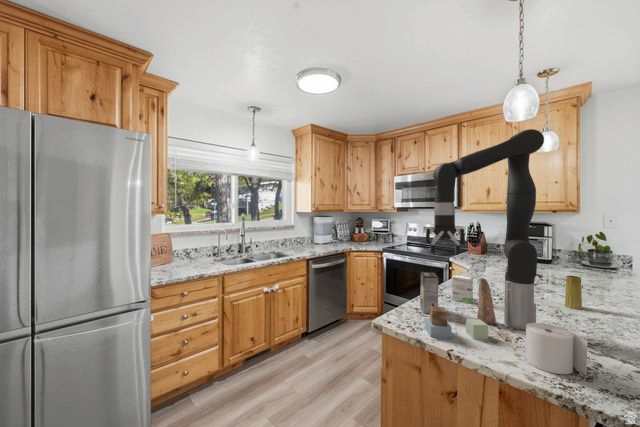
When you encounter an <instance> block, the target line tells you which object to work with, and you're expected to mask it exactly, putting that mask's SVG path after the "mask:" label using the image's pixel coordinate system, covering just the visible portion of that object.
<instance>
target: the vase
mask: <svg viewBox="0 0 640 427" xmlns="http://www.w3.org/2000/svg"><path fill="white" fill-rule="evenodd" d="M565 277H566V278H565V296H564V307H566V308H568V307H569V309H572V308H573V309H572V310H582V309H583V298H582V297H583V296H582V277H580V276H578V275H577V276H576V275H566V276H565Z"/></svg>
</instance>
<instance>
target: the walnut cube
mask: <svg viewBox="0 0 640 427" xmlns="http://www.w3.org/2000/svg"><path fill="white" fill-rule="evenodd" d="M429 319H430V321H431V323H432V325H440V326H447V323H448V311H447V309H446V308H445V307H444V306H438V307H436V306H430V313H429Z"/></svg>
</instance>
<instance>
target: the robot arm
mask: <svg viewBox="0 0 640 427" xmlns="http://www.w3.org/2000/svg"><path fill="white" fill-rule="evenodd" d="M544 142H545V137H544V134H543V132H541V131H540V130H538V129H534V128H533V129H531V128H530V129H525V130H522V131H519V132H518V133H515V134H514V135H512V136H511V137H510V138H509V139H507V140H505V141H503V142H501V143H499V144H496V145H493V146H489V147H487V148H484V149H481V150H478V151H475V152H472V153H470V154H467V155H465V156H461V157H460V158H458V159H455V160H454V161H451V162H444V163H442V164H440V165H438V166H437V167H436V168H435V169H434V170H433V172H432V177H433V179H434V181H436V189H435V192H434V208H433V211H434V212H433V214H434V216H433V218H434V227H433V228H426V230H425V243H426V244H428V245H430V253H432V255H436V245H435V244H436V243H437V242H438V241H439V240H448V241H449V240H452V242H453V243H454V244H455V245H454V254H455V256H458V255H459V254H460V252H461V246H462V245H464V244H465V243H466V236H465V229H464V228H462V227H461V228H456V208H455V207H456V206H455V186H456V179H457V178H459V177H461V176H463V175H468V174H471V173H474V172H477V171H479V170H481V169H484V168H485V169H486V167H489V166H491V165H493V164H496V163H498V162H501V161H503V160H506V159H507V165H508V166H507V172H508V173H507V189H506V233H505V239H504V244H503V254H504V256H505V257H506V258H507V268H506V272H505V273H504V312H503V313H504V314H503V315H504V316H503V317H504V318H503V319H504V321H503V322H504V324H505V325H506V326H508V327H510V328H513V329H516V330H522V331H526V325H527V324H528V323H537V304H536V303H535V279H536V277H537V273H538V271H537V268H538V252H537V249H536V247H535V245H533V244H532V243H530V234H529V230H530V225H531V222H532V218H533V216H534V213H535V210H536V204H537V202H536V201H537V187H536V183H535V182H534V179H533V177H532V175H531V172H530V168H529V167H530V165H529V164H530V157H531V154H534V153H536V152H537V151H539V150H540V149H541V148H542V147H543V145H544V144H545V143H544ZM432 233H434V237H433V238H432V240H430V238H431V234H432ZM456 233H457V235H459V241H458V239H457V238H456V237H455V234H456Z"/></svg>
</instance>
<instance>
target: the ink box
mask: <svg viewBox="0 0 640 427" xmlns="http://www.w3.org/2000/svg"><path fill="white" fill-rule="evenodd" d="M473 285H474V278H473V277H469V276H468V277H467V276H462V275H452V276H451V300H452V301H457V302H461V303H466V304H472V303H473V302H474V292H473V291H474V286H473Z"/></svg>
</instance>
